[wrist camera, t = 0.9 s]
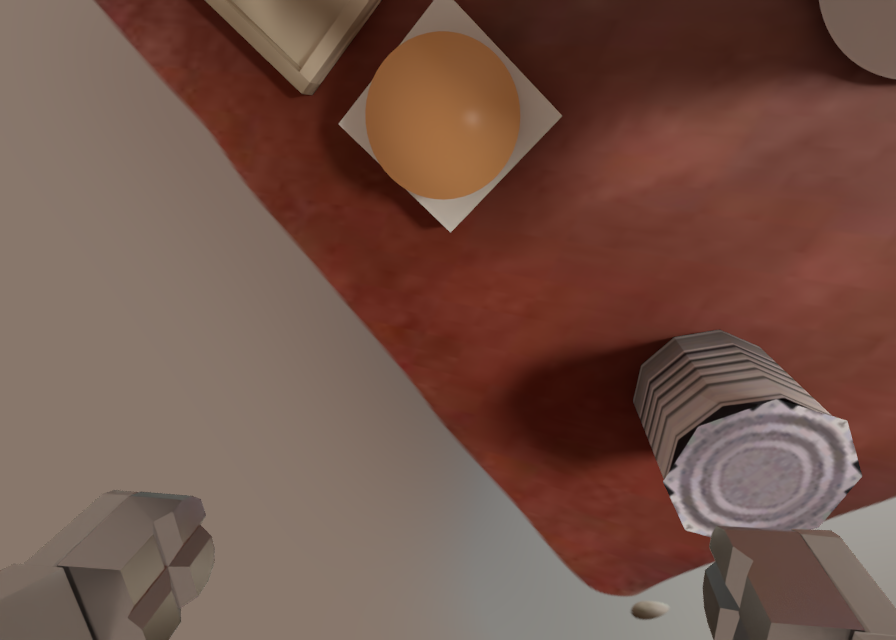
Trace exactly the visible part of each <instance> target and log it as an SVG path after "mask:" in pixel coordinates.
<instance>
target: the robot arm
mask: <svg viewBox="0 0 896 640" xmlns="http://www.w3.org/2000/svg"><path fill="white" fill-rule="evenodd" d="M819 4H820V9H821V13H822V16H823V19H824V22H825V25H826V27H827V29H828V31H829V33H830V35H831V37H832V38H833V40H834V42H835V43H836V44H837V46H838V47H839V48H840V49H841V51H842V52H843V53H844V54H845V55H846V56H847V57H848V58H849V59H851V60H852V61H853V62H855V63H856V64H857V65H859V66H860V67H862V68H864V69H866V70H868V71H870V72H872V73H874V74H877V75H880V76H883V77H886V78H891V79H896V0H819ZM205 516H206V514H205V511H204V508H203V504H202V501H201V499H199V498H196V497H194V496H187V495H175V494H162V493H151V492H131V491H120V490H113V491H110V492H107V493H104V494H102V495H101V496H99V498H97V499H96V500H95V501H94V502H93V503H92V504H90V505H89V506H88V507H87V508H86V509H85V510H84V511H83V512H82V513H80V514H79V515H78V516H77V517H76V518H75V519H74V520H72V521H71V522H70V523H69V524H68V525H67V526H66V527H64V528H63V529H62V530H61V531H60V532H59V533H58V534H57V535H55V536H54V537H53V538H52V539H51V540H50V541H49V542H47V543H46V544H45V545H44V546H43V547H42V548H41V549H40V550H38V551H37V552H36V553H35V554H34V555H33V556H32V557H31V558H29V559H28V560H27V561H26V562H25V563H24V564H12V565H11V566H8V567H6V568H4V569H2V570H0V640H169V639H170V637H171V636H172V634H173V633H174V631H175V630H176V628H177V627H178V625H179V624H180V623H181V608H182V607H183V606H185V605H186V604H188V603H189V602H191V601H192V600H194V599H195V598H197V597H198V596H199V594H200V593H201V591H202V590H203V588H204V587H205V585H206V584H207V582H208V580H209V577H210V574H211V570H212V568H213V564H214V553H215V551H214V550H215V549H214V544H213V540H212V536H211V535H210V534H209V533H208V532H207V531H206V530H205V529H204V528H203V527H202V526H201V523H202V521H203V520H204V518H205ZM709 547H710V550H711V552H712V554H713V556H714V559H715V562H714V563H713V564H712V565H711V566H709V567H708V568H707V569H706V570H705V575H704V582H703V599H704V609H705V614H706V618H707V622H708V625H709V628H710V631H711V634H712V637H713V639H714V640H896V608H895V607H894V605H893V604H892V603H891V601H890V600H889V599H888V598H887V596H886V595H885V594H884V592H883V591H882V590H881V589H880V588H879V586H878V585H877V583H876V582H875V581H874V580H873V579H872V577H871V576H870V575H869V573H868V572H867V571H866V569H865V568H864V567H863V566H862V564H861V563H860V562H859V560H858V559H857V558H856V556H855V555H854V554H853V553H852V551H851V550H850V549H849V547H848V546H847V545H846V544H845V542H844V541H843V540H842V538H840V536H838V535H837V534H835V533H834V532H832V531H829V530H805V529H791V530H787V529H771V528H751V527H731V526H716V527H715V529H714V531H713V532H712V535H711V540H710V546H709Z"/></svg>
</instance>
